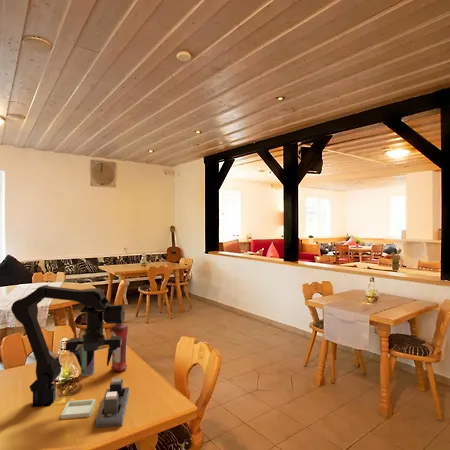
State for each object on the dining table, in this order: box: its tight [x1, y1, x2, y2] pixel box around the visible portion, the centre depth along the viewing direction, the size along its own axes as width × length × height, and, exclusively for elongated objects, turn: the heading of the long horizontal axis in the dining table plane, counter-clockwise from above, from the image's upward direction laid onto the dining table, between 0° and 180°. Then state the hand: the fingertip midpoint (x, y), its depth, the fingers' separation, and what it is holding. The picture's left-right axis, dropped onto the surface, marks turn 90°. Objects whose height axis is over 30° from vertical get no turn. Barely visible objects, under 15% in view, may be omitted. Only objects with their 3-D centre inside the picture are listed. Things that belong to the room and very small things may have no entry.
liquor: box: [110, 322, 128, 373], centre depth 154 cm, size 7×7×28 cm
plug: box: [104, 391, 119, 414], centre depth 114 cm, size 4×4×8 cm
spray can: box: [80, 329, 95, 377], centre depth 149 cm, size 6×6×20 cm
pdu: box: [95, 377, 130, 429], centre depth 119 cm, size 8×20×8 cm, turn 10°
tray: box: [60, 398, 96, 420], centre depth 119 cm, size 9×9×2 cm
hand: (94, 366), depth 125 cm, fingers open, 9 cm apart
